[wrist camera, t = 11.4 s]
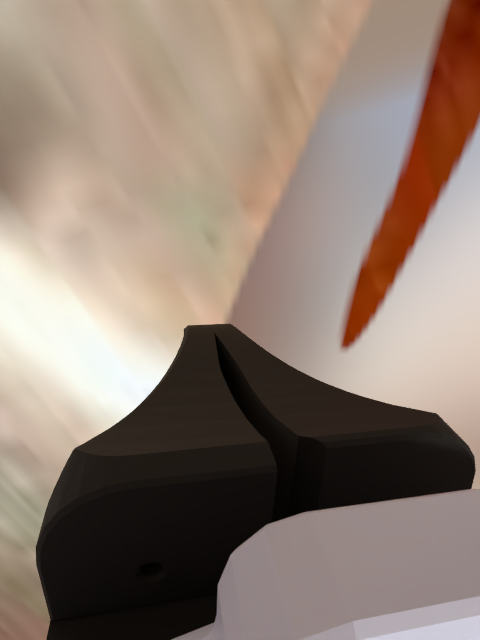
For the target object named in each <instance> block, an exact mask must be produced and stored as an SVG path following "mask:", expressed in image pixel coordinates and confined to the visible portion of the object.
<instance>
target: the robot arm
mask: <svg viewBox="0 0 480 640" xmlns="http://www.w3.org/2000/svg"><path fill="white" fill-rule="evenodd" d="M474 475H475V459H474V455H473V454H472V452H471V450H470V448H469V446H468V445H467V444H466V443H465V442H464V441H463V440H462V439H461V438H460V437H459V436H458V435H457V434H456V433H455V432H454V431H453V430H452V429H451V428H450V427H449V426H448V425H447V424H446V423H445V422H444V421H443V419H442V418H441V417H439V416H438V415H437V414H436V413H431V412H426V411H421V410H416V409H411V408H406V407H401V406H396V405H391V404H386V403H383V402H380V401H376V400H373V399H369V398H365V397H362V396H359V395H356V394H353V393H350V392H346V391H344V390H342V389H339V388H336V387H334V386H331V385H328V384H326V383H324V382H321V381H319V380H316V379H314V378H312V377H310V376H308V375H306V374H304V373H302V372H300V371H298V370H297V369H295V368H293V367H291V366H289V365H288V364H286V363H284V362H283V361H281V360H280V359H278V358H276V357H275V356H273V355H272V354H270V353H269V352H267V351H266V350H264V349H263V348H262V347H260V346H259V345H257V344H256V343H255V342H254V341H252V340H251V339H250V338H248V337H247V336H246V335H245V334H243V333H242V332H241V331H239V330H238V329H237V328H236V327H234V326H233V325H231V324H214V325H190V326H187V327H186V328H185V329H184V337H183V341H182V343H181V346H180V348H179V351H178V353H177V355H176V357H175V359H174V361H173V362H172V364H171V366H170V367H169V369H168V371H167V372H166V374H165V375H164V377H163V378H162V380H161V381H160V382H159V384H158V385H157V386H156V387H155V389H154V390H153V391H152V392H151V393H150V394H149V395H148V397H147V398H146V399H145V400H144V401H143V402H142V403H141V404H140V405H139V406H138V407H137V408H136V409H135V410H134V411H132V412H131V413H130V414H129V415H127V416H126V417H125V418H123V419H122V420H121V421H119V422H118V423H117V424H115V425H114V426H112V427H111V428H109V429H108V430H106V431H104V432H103V433H101V434H99V435H98V436H96V437H94V438H92V439H91V440H89V441H87V442H86V443H84V444H82V445H80V446H78V447H76V448H75V449H74V450H73V452H72V453H71V455H70V457H69V459H68V461H67V463H66V465H65V467H64V469H63V471H62V473H61V475H60V477H59V479H58V481H57V484H56V486H55V488H54V490H53V493H52V495H51V498H50V500H49V503H48V506H47V509H46V512H45V516H44V519H43V523H42V527H41V530H40V534H39V538H38V541H37V545H36V564H37V569H38V573H39V576H40V580H41V584H42V588H43V592H44V596H45V600H46V604H47V608H48V611H49V615H50V619H51V621H50V626H49V630H48V635H47V640H480V489H471V487H472V483H473V479H474Z"/></svg>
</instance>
